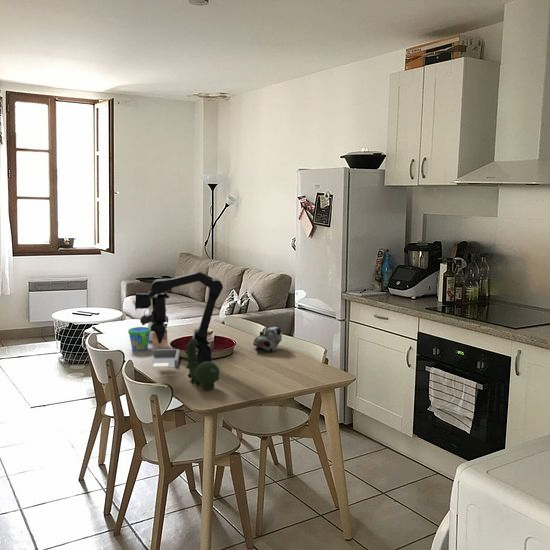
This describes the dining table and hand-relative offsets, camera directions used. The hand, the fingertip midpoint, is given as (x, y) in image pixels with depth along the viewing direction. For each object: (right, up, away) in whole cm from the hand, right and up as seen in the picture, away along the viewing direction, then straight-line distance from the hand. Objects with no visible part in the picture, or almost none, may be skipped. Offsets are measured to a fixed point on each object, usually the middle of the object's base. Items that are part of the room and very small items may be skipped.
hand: (160, 342), depth 276 cm
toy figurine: (+22, -15, -24) cm, 35 cm away
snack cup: (-15, -7, +27) cm, 32 cm away
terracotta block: (0, -1, 0) cm, 1 cm away
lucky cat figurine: (+47, -7, +27) cm, 55 cm away
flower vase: (-13, -4, +44) cm, 46 cm away
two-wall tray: (+1, -10, +7) cm, 12 cm away
